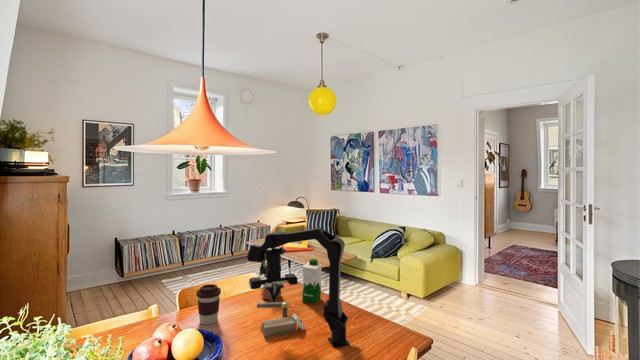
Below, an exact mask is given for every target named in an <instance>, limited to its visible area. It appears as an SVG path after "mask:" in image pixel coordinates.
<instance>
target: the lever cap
mask: <svg viewBox="0 0 640 360" xmlns="http://www.w3.org/2000/svg"><path fill="white" fill-rule="evenodd" d="M291 316H293V318H294V319H295V321H296V322H297V325H298V326H299V328H300V329H301V331H304V330H305V329H306V327H305V326H304V324H303V323H304V322H303V320H302V319H301V318H299V317H298V316H297V314H296V313H295V312H294V313H293V314H292V315H291Z"/></svg>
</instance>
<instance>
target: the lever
mask: <svg viewBox="0 0 640 360" xmlns="http://www.w3.org/2000/svg"><path fill="white" fill-rule="evenodd" d="M256 308H257V309H265V308H270V309H273V308H277V309H278V308H279V309H280V308H281V309H282V308H284V309H285V308H288V309H289V308H290V302H289V301H285V300H284V301H279V302H276V301H275V302H272V301H271V302H257V303H256Z"/></svg>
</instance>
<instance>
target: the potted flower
mask: <svg viewBox="0 0 640 360" xmlns="http://www.w3.org/2000/svg"><path fill="white" fill-rule="evenodd" d="M262 264H263V266H265V268H266V265H267V262H266V260H265V261H264V262H263V263H262ZM272 287H273V291H274V283H272ZM261 296H262V298H263V299H266V300H267V301H272V300H271V297H270V293H269V291H268V290H266V289H265V287H264V285H262V292H261ZM281 296H282V289H281V290H280V292H279V293H278V296H277V298H276V300H277V299H279V298H280V297H281Z"/></svg>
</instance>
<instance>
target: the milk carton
mask: <svg viewBox="0 0 640 360" xmlns="http://www.w3.org/2000/svg"><path fill="white" fill-rule="evenodd" d="M322 266H323V265H322V263H318V259H315V258H312V259H309V262H307V263H305V264H303V266H301V269H302V303H304V304H311V305H316V304H317V303H318V302H319V301H320V300H321V298H322V297H321V296H322V295H321V294H322Z"/></svg>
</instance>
